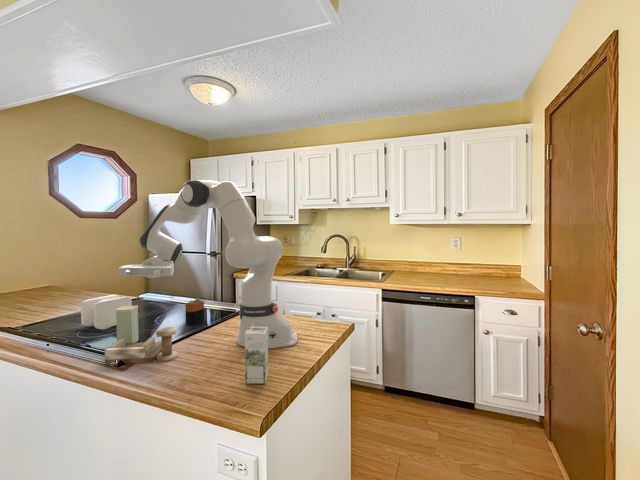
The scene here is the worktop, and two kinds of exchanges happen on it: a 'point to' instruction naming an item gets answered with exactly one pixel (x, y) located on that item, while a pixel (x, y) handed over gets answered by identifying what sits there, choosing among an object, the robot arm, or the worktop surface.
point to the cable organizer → (102, 310)
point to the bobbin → (166, 344)
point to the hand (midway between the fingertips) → (139, 274)
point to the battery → (194, 312)
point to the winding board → (133, 351)
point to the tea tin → (127, 323)
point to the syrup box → (256, 355)
